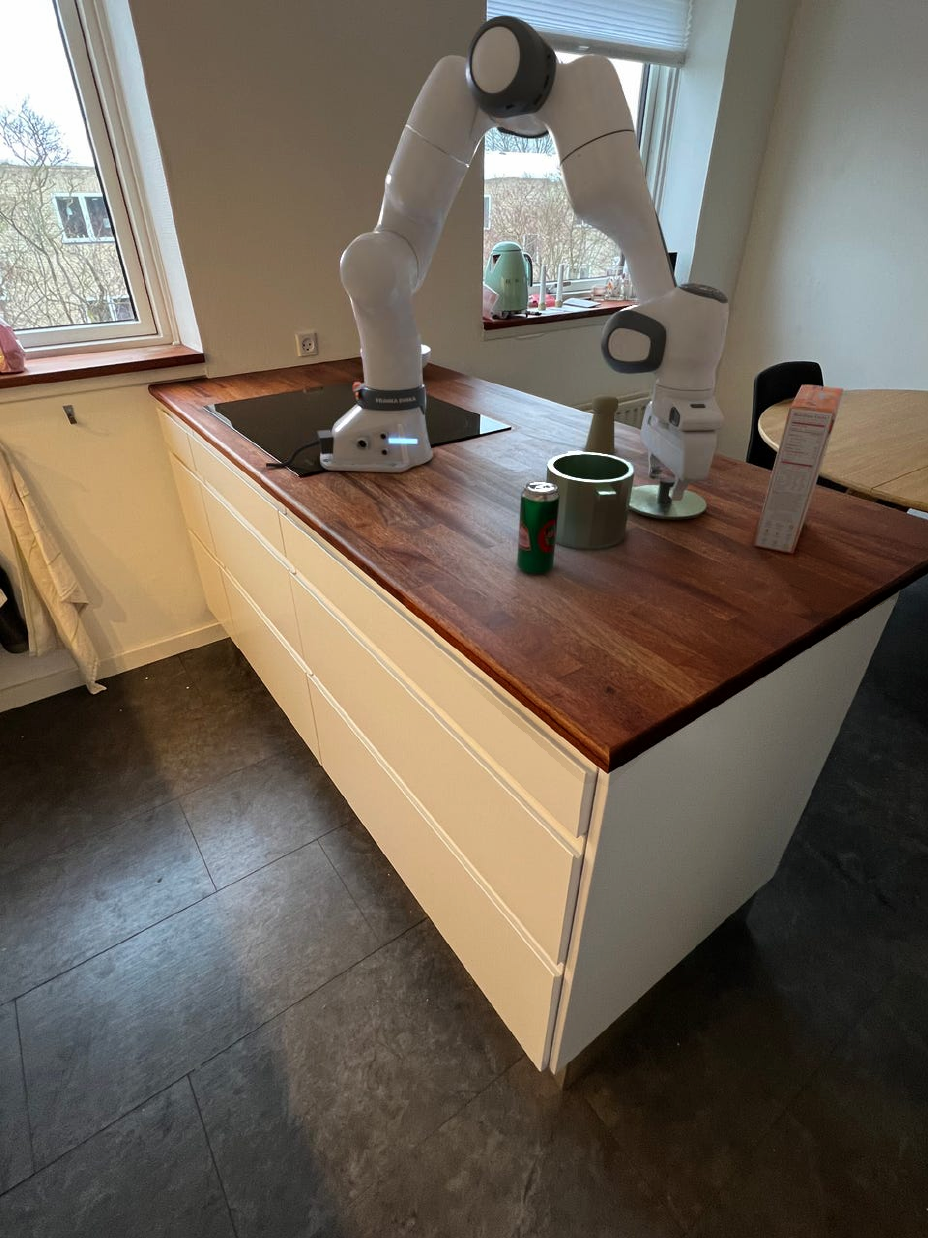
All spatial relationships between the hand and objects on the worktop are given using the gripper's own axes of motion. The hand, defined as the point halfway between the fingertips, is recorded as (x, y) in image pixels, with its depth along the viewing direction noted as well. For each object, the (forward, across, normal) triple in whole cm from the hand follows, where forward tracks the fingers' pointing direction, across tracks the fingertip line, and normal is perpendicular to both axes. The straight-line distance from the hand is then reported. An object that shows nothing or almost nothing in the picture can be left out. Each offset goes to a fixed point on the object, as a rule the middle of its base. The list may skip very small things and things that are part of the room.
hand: (664, 488), depth 105 cm
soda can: (+4, +19, -26) cm, 32 cm away
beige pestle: (+4, -30, -2) cm, 30 cm away
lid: (+3, 0, 0) cm, 3 cm away
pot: (+3, +8, -16) cm, 18 cm away
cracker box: (+3, +12, +14) cm, 19 cm away
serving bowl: (+4, -106, -42) cm, 114 cm away
